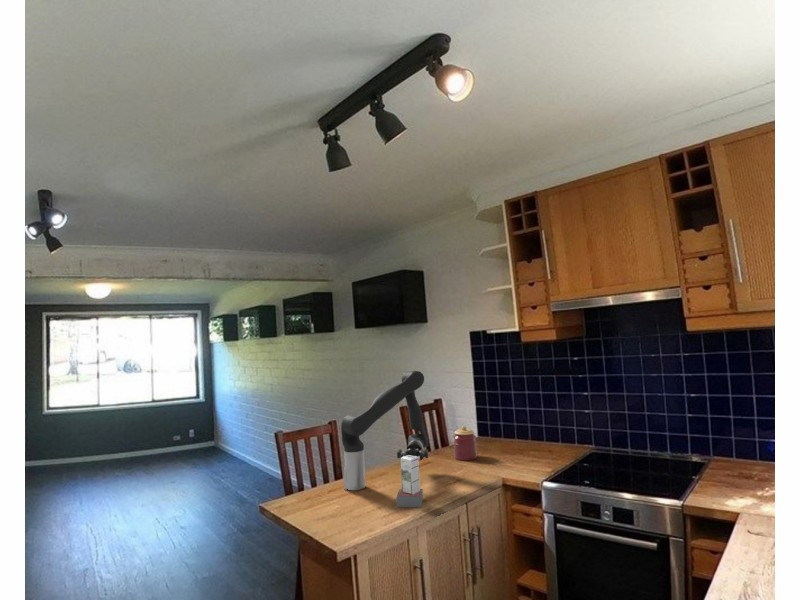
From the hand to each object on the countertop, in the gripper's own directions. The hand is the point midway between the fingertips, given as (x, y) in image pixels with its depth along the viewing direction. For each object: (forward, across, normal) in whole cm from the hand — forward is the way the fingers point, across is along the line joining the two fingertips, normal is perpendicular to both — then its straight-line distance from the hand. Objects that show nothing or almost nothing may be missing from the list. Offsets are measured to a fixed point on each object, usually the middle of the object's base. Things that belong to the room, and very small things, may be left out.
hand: (411, 458), depth 204 cm
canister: (-58, +24, +15) cm, 64 cm away
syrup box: (+11, +1, +11) cm, 16 cm away
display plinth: (+11, 0, +15) cm, 19 cm away
